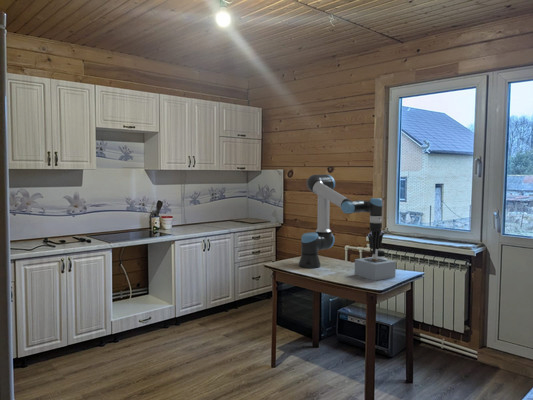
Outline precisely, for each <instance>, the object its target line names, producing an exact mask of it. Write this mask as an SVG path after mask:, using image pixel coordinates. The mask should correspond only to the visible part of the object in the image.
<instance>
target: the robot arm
mask: <svg viewBox="0 0 533 400" xmlns="http://www.w3.org/2000/svg"><path fill="white" fill-rule="evenodd" d="M306 187H307V189H308V190H309V191H310V192H312V193H313V194H315V195H317V228H316V230H315V232H311V231H310V232H305V233H303V234H302V235H301V238H300V239H301V244H300V245H301V248H300V249H301V251H300V252H301V254H300V255H301V256H300V257H299V261H298V266H299V267H300V268H304V269H316V268H321V262H320V258H319V251H322V250H328V249H331V248H332V247H333V246H334V244H335V236H334V234H333V232H332V230H331V229H330V212H331V211H330V209H331V207H330V206H331V205H330V204H331V203H332V204H334V205H336V206H337V207H339V208H340V210H341V212H343V213H344V214H353V213H354V214H355V213H369V229H370V230H369V233H367V234H366V236H367V238H368V239H367V240H368V243H369V245H368V246H369V249H372V251H371V253H372V257H373V259H378V250H380V248H381V247H382V244H383V243H382V242H383V239H384V235H385V232H382V228H383V223H382V222H383V199H382V198H379V197H377V198H376V197H371V198H370V200H363V199H362V200H361V199H359V200H351V199H349V198H348V197H346V196H345V195H343V194H341V193H339V192H337V191H336V190H334V189H335V187H336V180H335V179H334V177H333V176H332V175H330V174H312V175H310V176H309V177H308V178H307V180H306Z"/></svg>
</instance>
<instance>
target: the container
mask: <svg viewBox="0 0 533 400" xmlns="http://www.w3.org/2000/svg"><path fill="white" fill-rule="evenodd" d="M385 255H386V251H384V250H380V249H378V257H379V258H383V259H387V260H389V259H388V258H386V256H385Z"/></svg>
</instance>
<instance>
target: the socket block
mask: <svg viewBox="0 0 533 400" xmlns="http://www.w3.org/2000/svg"><path fill="white" fill-rule="evenodd" d="M372 259H373V256H369V257H363V258H355V259H354V276H359V277H360V278H361V277H362V278H364V279H368V280H372V281H375V282H376V281H381V280H385V279H392V278H396V269H397V268H396V263H397V262H396V260H391V259H388V258H386V259H383V258H379V257H378V261H372ZM387 259H388V260H387Z"/></svg>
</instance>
